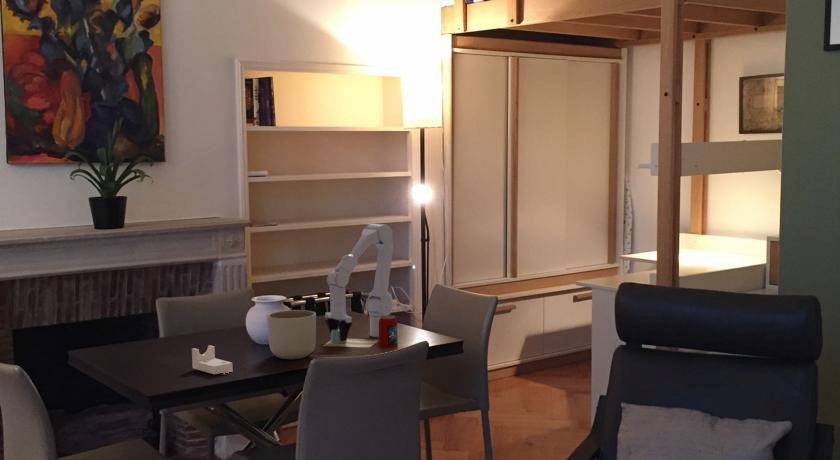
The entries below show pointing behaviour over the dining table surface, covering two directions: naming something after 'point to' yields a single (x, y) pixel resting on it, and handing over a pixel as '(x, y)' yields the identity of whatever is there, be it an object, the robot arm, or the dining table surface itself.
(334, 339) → the cap
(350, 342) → the stud plate
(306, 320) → the planter
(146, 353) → the dining table surface
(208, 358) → the bracket
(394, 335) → the beverage can
